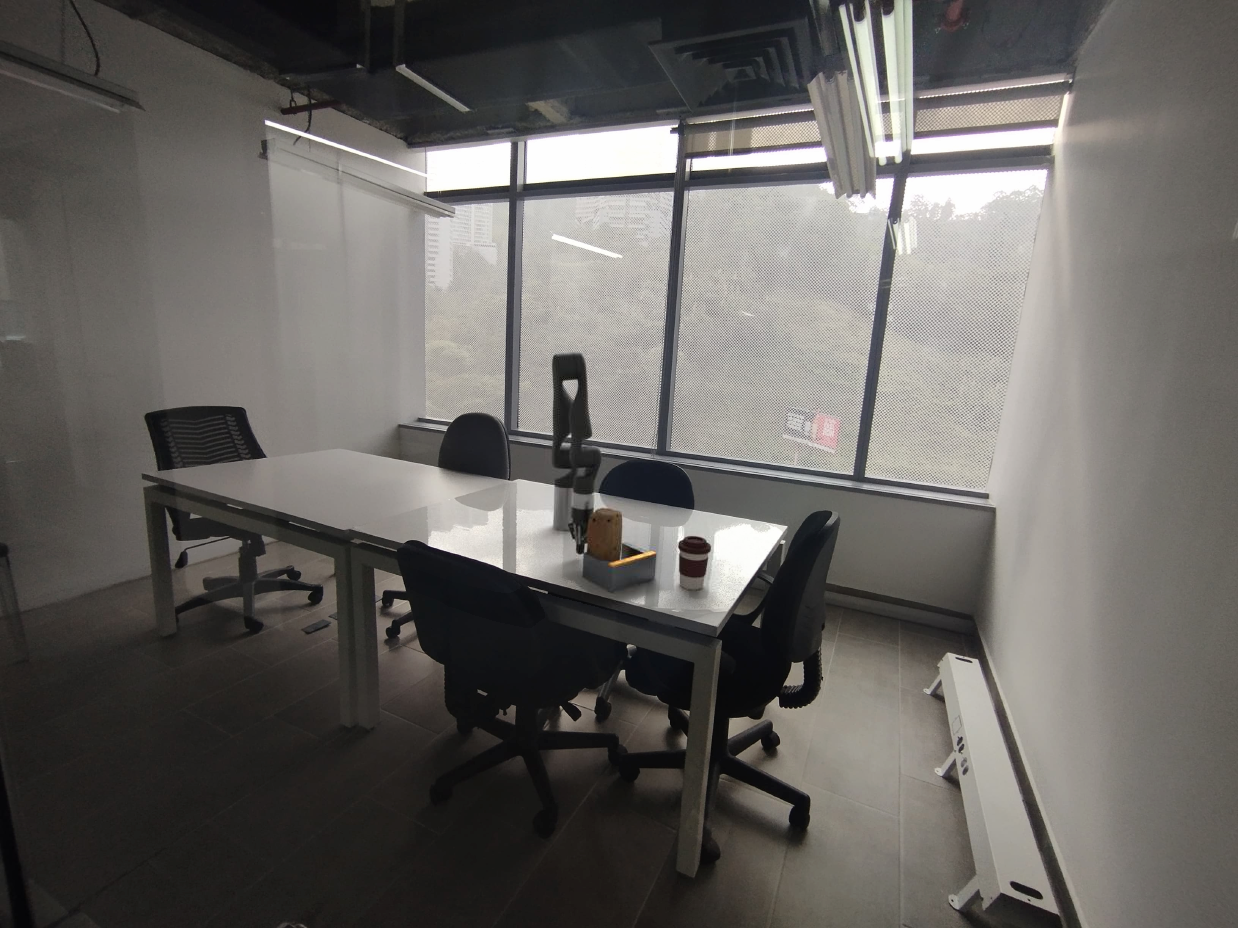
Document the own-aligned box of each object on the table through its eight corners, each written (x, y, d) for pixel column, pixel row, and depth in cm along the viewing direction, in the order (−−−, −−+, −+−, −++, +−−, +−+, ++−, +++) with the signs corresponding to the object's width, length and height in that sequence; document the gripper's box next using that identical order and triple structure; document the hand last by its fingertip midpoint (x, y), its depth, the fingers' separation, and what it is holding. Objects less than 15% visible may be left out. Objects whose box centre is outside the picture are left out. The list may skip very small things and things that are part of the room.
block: (621, 568, 174) (625, 510, 170) (612, 576, 167) (616, 516, 163) (592, 562, 178) (594, 505, 174) (582, 570, 171) (584, 510, 167)
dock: (625, 564, 178) (626, 540, 176) (654, 578, 167) (656, 553, 166) (582, 576, 166) (583, 550, 164) (611, 592, 156) (613, 565, 154)
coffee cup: (689, 576, 171) (692, 531, 168) (713, 586, 164) (718, 540, 161) (668, 583, 164) (672, 537, 161) (693, 595, 157) (697, 547, 154)
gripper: (603, 508, 175) (600, 557, 178) (579, 498, 184) (577, 545, 188) (585, 511, 170) (582, 562, 173) (562, 501, 179) (559, 549, 183)
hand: (579, 553), depth 181 cm, fingers closed
